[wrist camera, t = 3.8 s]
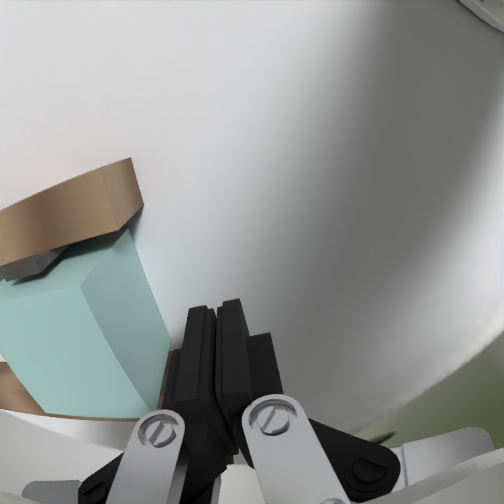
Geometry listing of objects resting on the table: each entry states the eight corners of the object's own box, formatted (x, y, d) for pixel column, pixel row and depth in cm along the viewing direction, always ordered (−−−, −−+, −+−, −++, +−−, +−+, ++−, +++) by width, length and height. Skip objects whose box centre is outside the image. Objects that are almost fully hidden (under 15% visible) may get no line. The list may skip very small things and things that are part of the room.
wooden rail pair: (130, 157, 11) (85, 174, 7) (206, 374, 15) (202, 434, 12) (-70, 251, 11) (-103, 277, 7) (0, 380, 16) (-20, 414, 12)
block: (129, 226, 12) (79, 285, 7) (171, 338, 14) (154, 417, 10) (31, 254, 12) (-27, 306, 7) (78, 348, 14) (45, 413, 10)
